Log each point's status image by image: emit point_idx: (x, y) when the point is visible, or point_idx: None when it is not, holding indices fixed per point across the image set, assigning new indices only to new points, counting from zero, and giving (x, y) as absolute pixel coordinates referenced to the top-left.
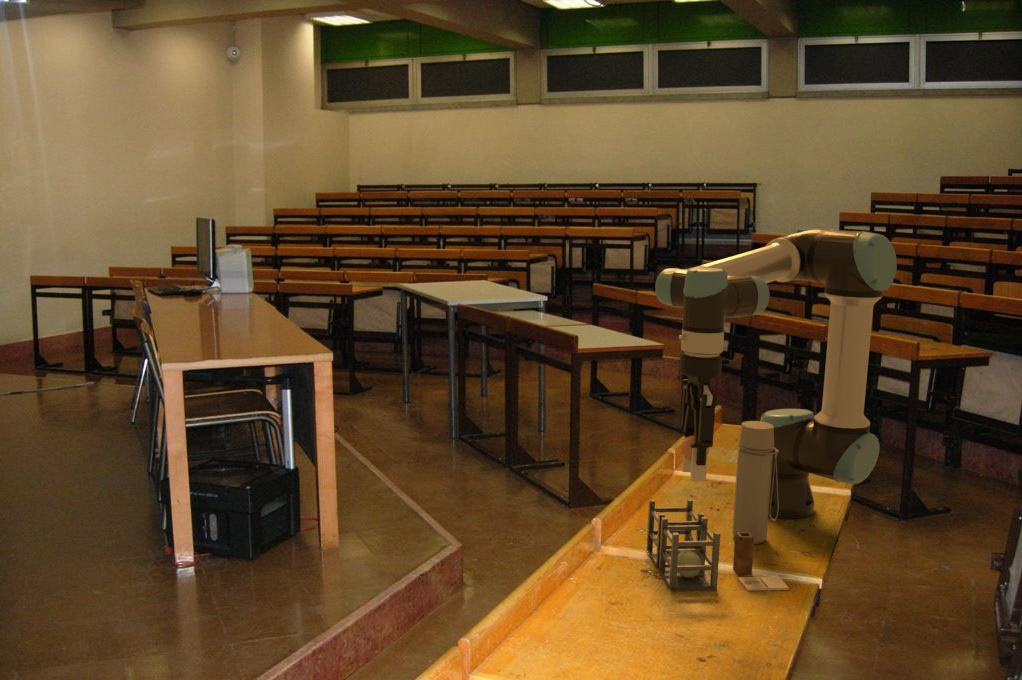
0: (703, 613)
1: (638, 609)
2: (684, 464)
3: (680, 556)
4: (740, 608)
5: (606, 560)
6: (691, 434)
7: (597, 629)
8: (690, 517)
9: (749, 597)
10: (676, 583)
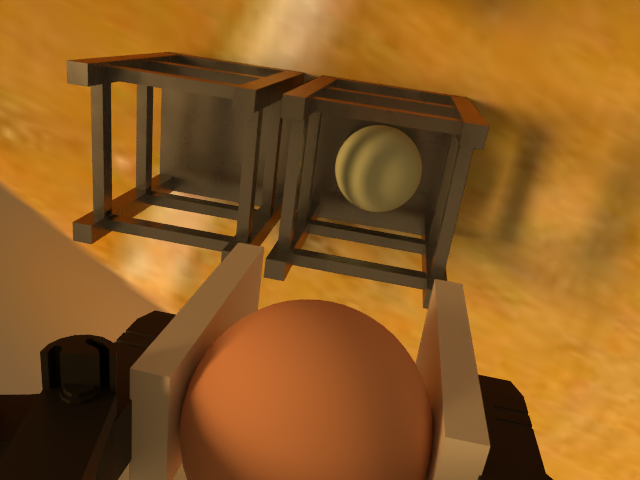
0: (598, 208)
1: (515, 354)
2: None
3: (379, 207)
4: (610, 83)
5: None
6: (113, 447)
7: (582, 472)
8: (125, 65)
9: (548, 13)
10: (419, 212)
